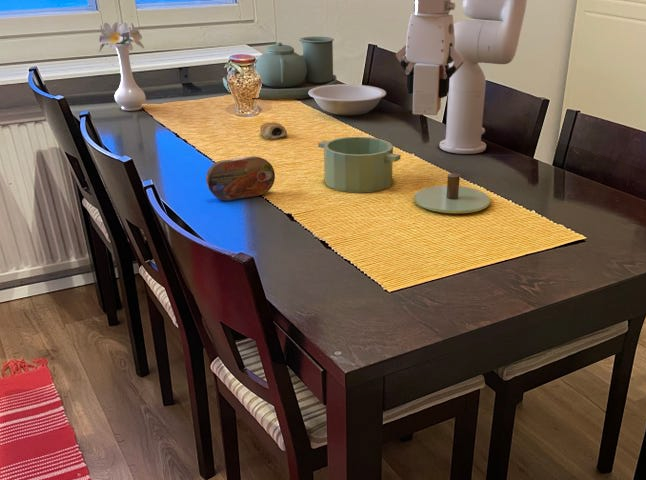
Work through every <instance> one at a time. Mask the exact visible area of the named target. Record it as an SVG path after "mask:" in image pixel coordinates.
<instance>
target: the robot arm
mask: <svg viewBox="0 0 646 480" xmlns="http://www.w3.org/2000/svg"><path fill="white" fill-rule="evenodd" d="M527 2H528V0H462V4H461V5H462V12H463V14H464V15H465V17H467V18H469V19H465V20H459V21H457V22H455V21H454V15H453V14H450V12H451V11H454V10H455V9H456V3H455V2H452V0H413V12H412V13H410V17H409V20H408V26H407V33H406V41H405V45H403V47H402V48H400V49H399V50H398V51H397V52H396V53H395V57H396V59H397V60H398V62H399V63H400V66H401V67H402V69H403V70H404V74H405V75H407V76H406V77H407V78H406V88H407V94H409V95H413V84H414V65H415V64H416V63H424V64H434V65H440V73H441V76H442V78H441V79H440V80H439V98H441V99H443V98H446V97H447V107H446V108H447V109H446V111H447V112H446V126H445V139H441V141H439V148H440V149H441V150H443V151H444V152H447V153H452V154H457V155H460V154H461V155H473V154H479V153H483V152H484V151H486V149H487V144H486V142H484V141H482V135H484V134H485V133H486V129H485V128H484V127H483V121H484V110H485V109H484V108H485V98H486V97H485V96H486V86H487V85H486V84H487V80H486V75H485V73H484V71H483V69H482V67H481V65H480V64H481V63H482V64H493V65H508V64H510V63H511V62H512V61H513V60H514V58H515V56H516V53H517V50H518V46H519V42H520V36H521V32H522V27H523V23H524V19H525V15H526V9H527Z"/></svg>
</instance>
